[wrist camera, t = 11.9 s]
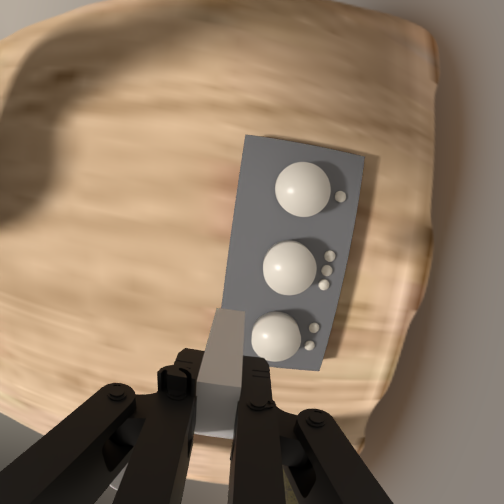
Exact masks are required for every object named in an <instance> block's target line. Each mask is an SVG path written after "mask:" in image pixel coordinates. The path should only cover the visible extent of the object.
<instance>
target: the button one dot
mask: <svg viewBox="0 0 504 504" xmlns="http://www.w3.org/2000/svg"><path fill="white" fill-rule="evenodd" d="M330 193H331V187H330V182H329V179H328V177H327V175H326V174H325V172H324V171H323V170H322V169H321V168H319V167H318V166H316V165H315V164H312V163H309V162H297V163H293V164H291V165H289V166H288V167H286V168H285V169H284V170H283V171H282V172H281V173H280V174H279V176H278V178H277V180H276V183H275V195H276V198H277V200H278V202H279V204H280V205H281V206H282V208H284V209H285V210H286V211H287V212H289V213H290V214H292V215H295V216H299V217H309V216H313V215H315V214H317V213H319V212H320V211H321V210H322V209H323V208H324V207H325V206H326V204H327V203H328V201H329V198H330Z"/></svg>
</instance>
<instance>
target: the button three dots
mask: <svg viewBox="0 0 504 504" xmlns="http://www.w3.org/2000/svg"><path fill="white" fill-rule="evenodd" d="M316 271H317V267H316V261H315V259H314V257H313V255H312V253H311V252H310V251H309V250H308V249H307V247H305V246H304V245H303V244H301V243H299V242H297V241H293V240H285V241H281V242H278V243H276V244H274V245H273V246H272V247H271V248H270V249H269V250H268V251H267V253H266V255H265V257H264V260H263V274H264V278H265V280H266V282H267V284H268V285H269V287H270V288H271V289H273V290H274V291H275V292H277V293H279V294H282V295H296V294H299V293H301V292H303V291H305V290H306V289H307V288H308V287H309V286H310V285H311V284H312V282H313V281H314V279H315V276H316Z"/></svg>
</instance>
